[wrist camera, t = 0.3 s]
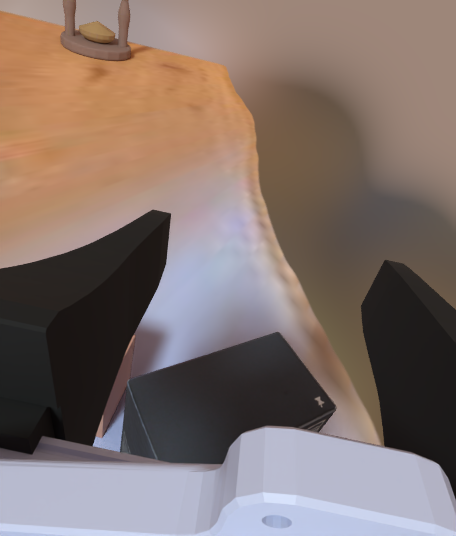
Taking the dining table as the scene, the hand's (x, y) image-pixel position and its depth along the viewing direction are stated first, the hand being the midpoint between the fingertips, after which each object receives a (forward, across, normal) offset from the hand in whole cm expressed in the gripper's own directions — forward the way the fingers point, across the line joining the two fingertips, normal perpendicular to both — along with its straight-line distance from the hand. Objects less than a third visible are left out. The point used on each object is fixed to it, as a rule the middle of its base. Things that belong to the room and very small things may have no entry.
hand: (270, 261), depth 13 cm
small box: (+3, 0, +21) cm, 21 cm away
